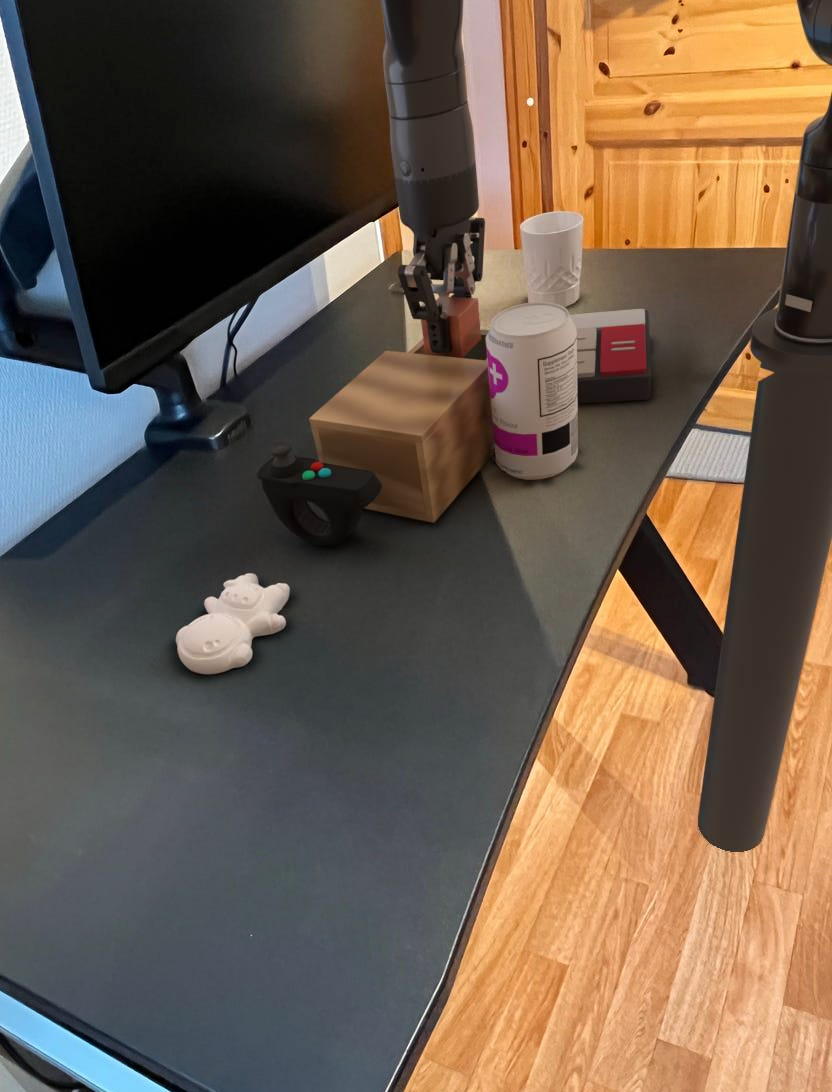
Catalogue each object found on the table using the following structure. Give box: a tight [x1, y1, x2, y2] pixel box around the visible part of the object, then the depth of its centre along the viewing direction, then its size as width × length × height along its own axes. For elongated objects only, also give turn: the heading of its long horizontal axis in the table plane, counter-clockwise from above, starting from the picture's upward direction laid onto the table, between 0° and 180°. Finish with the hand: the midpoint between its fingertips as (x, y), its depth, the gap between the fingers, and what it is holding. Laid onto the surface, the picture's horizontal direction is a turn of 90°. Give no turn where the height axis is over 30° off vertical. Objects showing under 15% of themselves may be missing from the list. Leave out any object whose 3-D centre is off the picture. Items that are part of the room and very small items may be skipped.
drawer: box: [407, 329, 489, 361], centre depth 94 cm, size 18×11×8 cm, turn 147°
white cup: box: [519, 210, 584, 308], centre depth 114 cm, size 8×8×10 cm
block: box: [420, 296, 482, 358], centre depth 90 cm, size 4×4×4 cm
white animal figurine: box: [175, 572, 291, 675], centre depth 77 cm, size 9×12×3 cm
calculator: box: [569, 308, 652, 405], centre depth 99 cm, size 11×4×15 cm
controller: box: [256, 441, 382, 547], centre depth 82 cm, size 4×12×10 cm, turn 59°
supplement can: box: [486, 302, 579, 481], centre depth 84 cm, size 8×8×15 cm
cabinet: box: [308, 350, 495, 524], centre depth 88 cm, size 15×13×10 cm
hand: (453, 340), depth 91 cm, fingers closed on block, 4 cm apart
